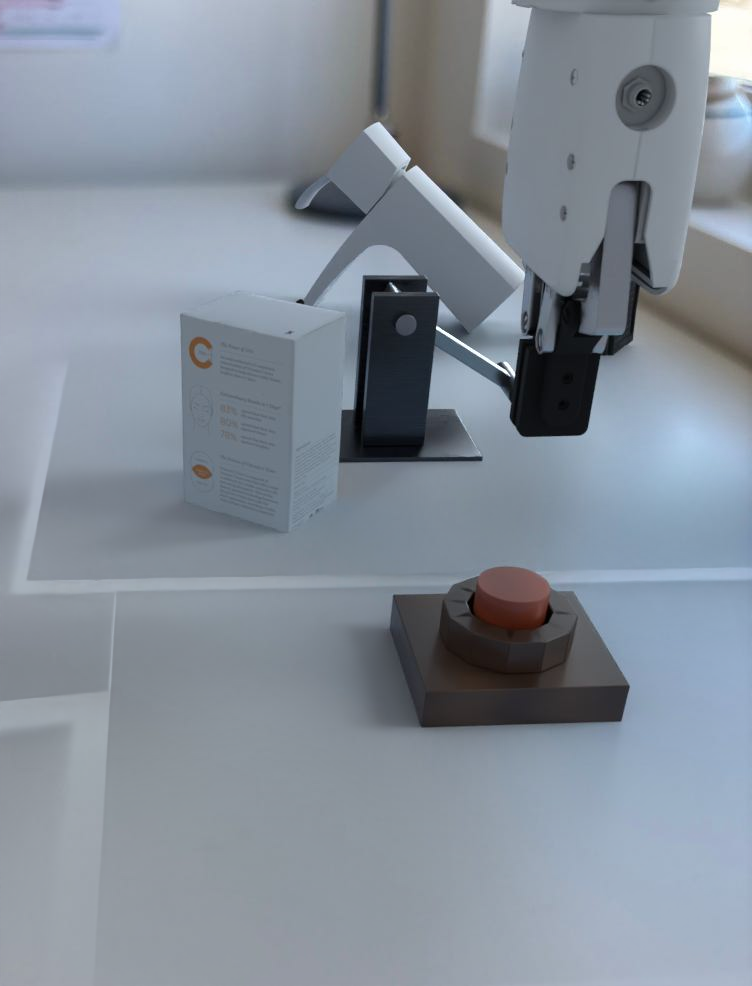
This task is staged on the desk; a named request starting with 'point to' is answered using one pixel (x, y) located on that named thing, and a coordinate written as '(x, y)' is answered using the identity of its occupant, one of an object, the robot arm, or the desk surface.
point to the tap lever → (472, 357)
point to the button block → (504, 664)
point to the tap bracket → (399, 381)
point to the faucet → (414, 230)
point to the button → (511, 598)
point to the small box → (262, 407)
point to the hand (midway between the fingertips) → (547, 428)
